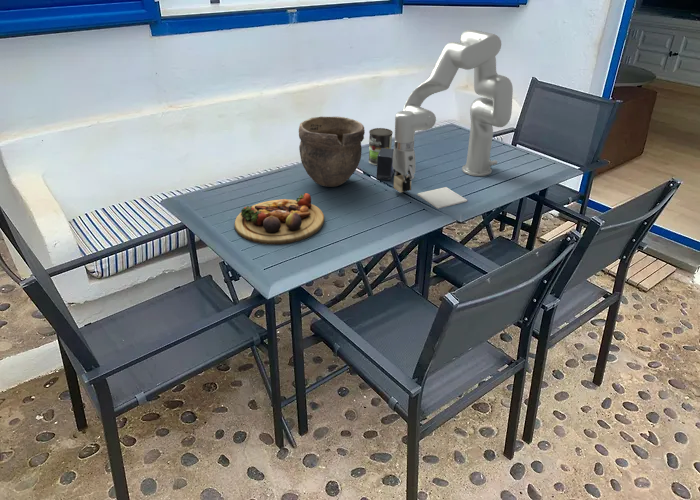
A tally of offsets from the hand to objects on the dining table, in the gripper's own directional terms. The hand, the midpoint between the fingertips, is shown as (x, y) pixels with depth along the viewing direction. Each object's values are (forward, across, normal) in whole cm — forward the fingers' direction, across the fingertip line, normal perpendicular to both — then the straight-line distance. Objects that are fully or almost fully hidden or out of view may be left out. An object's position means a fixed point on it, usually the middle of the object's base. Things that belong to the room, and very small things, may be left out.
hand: (402, 187), depth 217 cm
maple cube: (+1, 0, 0) cm, 1 cm away
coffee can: (+3, +34, -10) cm, 35 cm away
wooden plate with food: (+2, -2, +53) cm, 53 cm away
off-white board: (+3, -11, -12) cm, 16 cm away
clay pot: (+2, +22, +20) cm, 30 cm away
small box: (+3, +19, -4) cm, 19 cm away
